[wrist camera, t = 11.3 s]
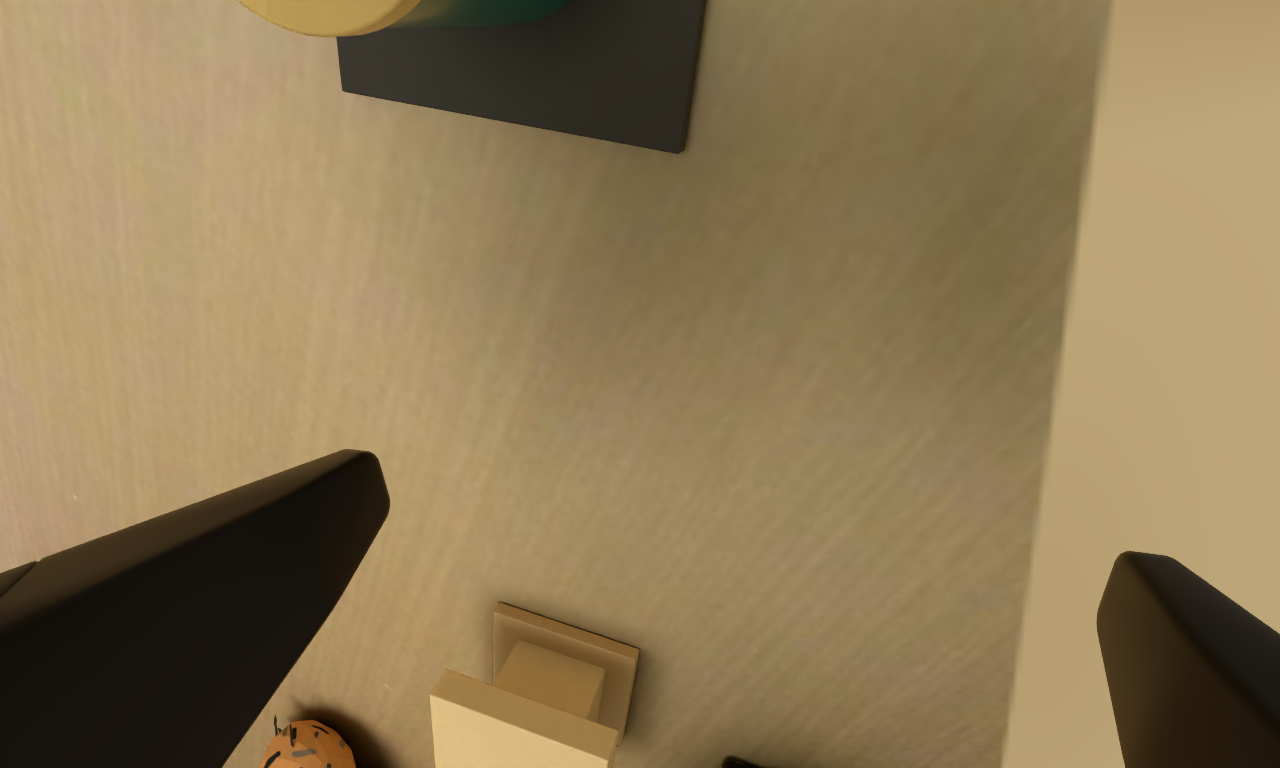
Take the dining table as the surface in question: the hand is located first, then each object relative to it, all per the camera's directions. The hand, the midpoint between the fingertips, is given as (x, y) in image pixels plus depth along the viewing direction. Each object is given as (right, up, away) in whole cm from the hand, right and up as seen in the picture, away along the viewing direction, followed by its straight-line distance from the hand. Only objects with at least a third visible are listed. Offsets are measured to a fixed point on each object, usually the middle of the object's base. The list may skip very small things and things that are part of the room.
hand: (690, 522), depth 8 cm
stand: (-4, -11, +21) cm, 25 cm away
